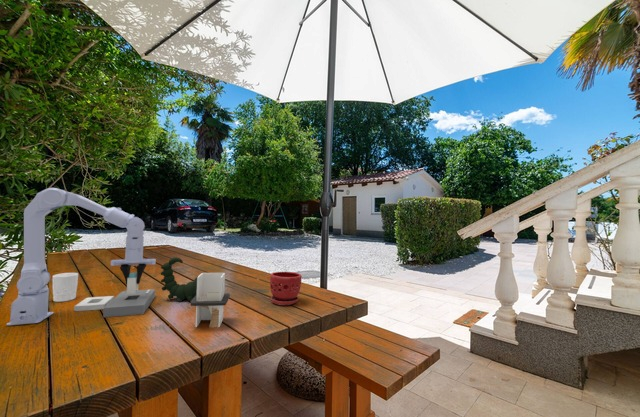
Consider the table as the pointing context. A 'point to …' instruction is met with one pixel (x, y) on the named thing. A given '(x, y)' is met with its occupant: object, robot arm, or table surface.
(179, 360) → the table surface
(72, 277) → the white cup
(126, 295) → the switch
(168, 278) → the toy figurine
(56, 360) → the table surface
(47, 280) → the robot arm
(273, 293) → the plant pot
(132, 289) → the plug
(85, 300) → the square frame
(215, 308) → the white grey toy chair
